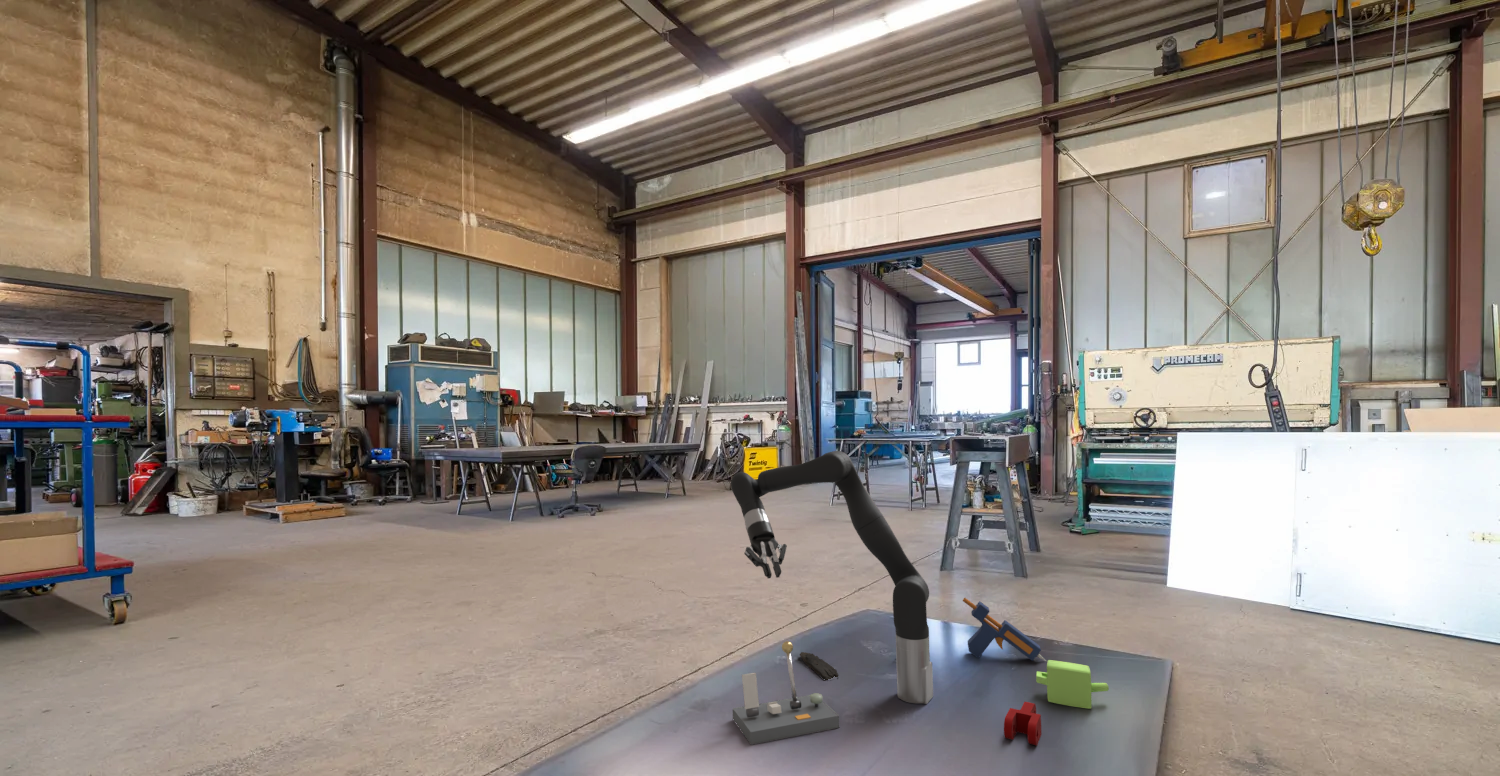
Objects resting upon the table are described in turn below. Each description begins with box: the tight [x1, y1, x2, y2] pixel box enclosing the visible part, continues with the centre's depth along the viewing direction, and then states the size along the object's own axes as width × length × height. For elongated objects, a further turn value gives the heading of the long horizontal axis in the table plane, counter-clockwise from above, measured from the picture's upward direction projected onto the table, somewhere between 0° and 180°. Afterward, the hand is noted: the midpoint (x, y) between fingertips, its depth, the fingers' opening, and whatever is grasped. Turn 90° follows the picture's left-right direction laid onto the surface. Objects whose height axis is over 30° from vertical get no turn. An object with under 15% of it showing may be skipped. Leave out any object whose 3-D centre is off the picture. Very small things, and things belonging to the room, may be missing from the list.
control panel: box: [732, 694, 840, 745], centre depth 165 cm, size 14×24×3 cm, turn 110°
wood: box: [799, 651, 839, 681], centre depth 203 cm, size 22×7×3 cm, turn 20°
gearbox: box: [1035, 659, 1109, 709], centre depth 177 cm, size 18×10×10 cm, turn 65°
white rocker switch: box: [767, 701, 781, 714], centre depth 164 cm, size 4×2×2 cm, turn 20°
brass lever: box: [781, 640, 801, 709], centre depth 169 cm, size 3×3×16 cm
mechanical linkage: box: [1003, 701, 1042, 747], centre depth 160 cm, size 16×7×5 cm, turn 147°
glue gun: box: [962, 597, 1048, 662], centre depth 210 cm, size 6×31×15 cm
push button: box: [809, 692, 823, 707], centre depth 168 cm, size 3×3×3 cm
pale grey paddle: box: [741, 672, 760, 717], centre depth 163 cm, size 2×4×10 cm, turn 110°
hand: (774, 576), depth 183 cm, fingers closed
